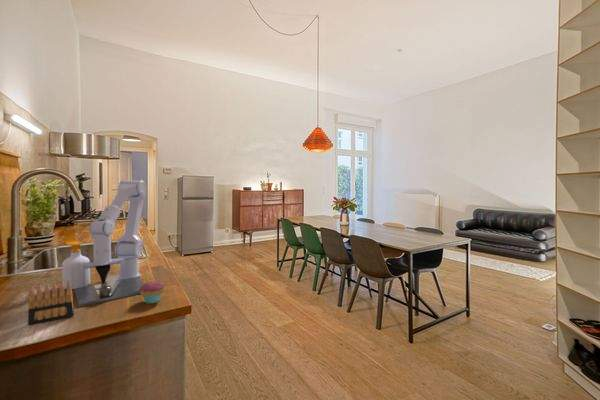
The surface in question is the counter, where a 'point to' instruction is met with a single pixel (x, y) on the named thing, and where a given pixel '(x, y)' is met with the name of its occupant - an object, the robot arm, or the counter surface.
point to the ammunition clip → (50, 304)
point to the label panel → (123, 289)
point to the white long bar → (109, 286)
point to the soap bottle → (74, 263)
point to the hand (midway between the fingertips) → (103, 283)
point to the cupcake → (152, 290)
